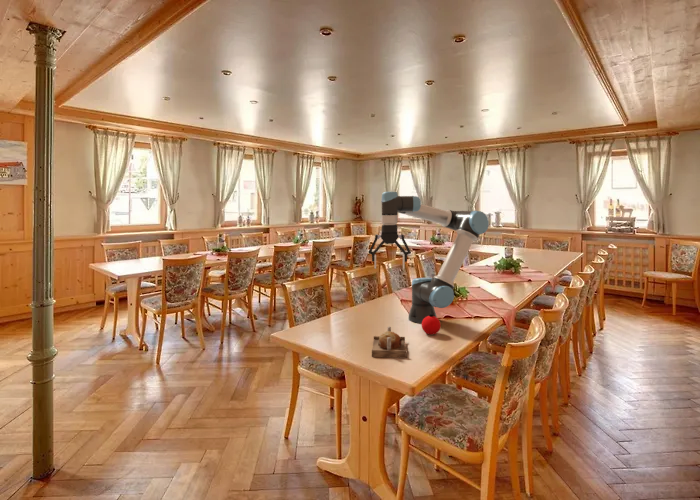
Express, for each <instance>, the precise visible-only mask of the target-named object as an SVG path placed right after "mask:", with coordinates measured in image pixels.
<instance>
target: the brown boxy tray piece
mask: <svg viewBox="0 0 700 500" xmlns="http://www.w3.org/2000/svg"><path fill="white" fill-rule="evenodd" d="M386 328H387V330H386V331H390V332H392V327H391V326H387V327H386ZM379 337H380V335H374V336H373V341H372V348H371V357H375V358H377V357H379V358H407V349H406V348H407V346H406V340H405V339H406V336H400V338H401V339H402V343H401V346H400V347H399V348H397V349H391V337H388V338H387V349H383V348H381V347H380V346H379V345H378V342H379Z"/></svg>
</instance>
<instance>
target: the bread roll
mask: <svg viewBox="0 0 700 500" xmlns="http://www.w3.org/2000/svg"><path fill="white" fill-rule="evenodd" d="M379 336H380V337H379V342H378V345H379V346H380V347H381V348H383V349H387V338H388V337H391V349H397V348H399V347H400V346H401V343H402V339H401V338H400V337H401V336H400V335H399V334H397V332H394V331H391V332H390V331H387V330H386V331H383V333H381V334H380V335H379Z"/></svg>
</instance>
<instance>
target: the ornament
mask: <svg viewBox="0 0 700 500" xmlns="http://www.w3.org/2000/svg"><path fill="white" fill-rule="evenodd" d="M441 325H442V324H441V321H440V319H439V318H438V317H437V318H436V317H435V316H433V314H429V316H427V317H425V318H424V319H423V321H422V323H421V329H422V331H423V332H424V333H425V334H427V335H429V336H431V335H432V336H433V335H436V334H438V333H439V331H441Z"/></svg>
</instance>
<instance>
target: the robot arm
mask: <svg viewBox="0 0 700 500" xmlns="http://www.w3.org/2000/svg"><path fill="white" fill-rule="evenodd" d="M398 214H403V215H406V216H410V217H414V218H416V219H422V220H424V221H428V222H431V223H436V224H439V225H441V227H443V228H446V229H450V230H452V231H455V232H456V233H457V234H456V236H455V239H454V241H453V243H452V245H451V247H450V249H449V251H448V253H447V255H446V257H445V259H444V261H443V263H442V265H441V267H440V269H439V271H438V273H437V275H434V276H433V277H416V278H413V279H412V281H411V307H410V310H409V313H408V320H409V321H410V322H412V323H417V324H422V321H423V319H424V318H425V317H427V316H429V314H433V316H435V317H436V318H438V316H437V312H436V310H435V308H437V309H444V308H447V307H449V306H450V305H451V304H452V303H453V302H454V301H453V300H454V298H455V293H454V288H455V285H454V282H455V279H456V278H457V275H458V273H459V271H460V269H461V267H462V265H463V263H464V261H465V259H466V256H467V255H468V252H469V250H470V248H471V246H472V245H473V242H475V241H477V240H478V239H479V237H480V235H483V234H484V233H486V232H487V231H488V229H489V225H490V221H489V217H488V216H487V215H486V213H485V212H483V211H482V210H481V211H480V210H475V209H474V210H451V209H445V210H444V209H440V208H437V207H435V206H434V207H433V206H430V205H426V204H422V200H421V198H420V197H419V196H417V195H415V196H414V195H401V196H400V195H399V193H398V191H383V192H382V194H381V224H382V225H381V234H377V233H376V234H375V235H374V240H373V242H372V243H371V246H370V248H369V250H368V254H369V255H371V262H374V265H373V267H374V270H375V269H377V252H378V251H379V250H380V249H381V248H382V246H383V245H384V244H386V245H389V244H390V245H393V244H395V245H396V246H397V248H398V249H399V250H400V251H401V252H402V253H403V254H402V269H403V270H405V263H407V261H408V255H410V254H411V253H412V251H411V250H410V247H409V246H408V244H407V242H406V240H405V235H404V234H398ZM380 238H381V242H380V243H379V244H378V246H377V247H376V248H375V246H376V243H377V241H378V240H380ZM398 239H400V240H401V241H402V243H403V245H404V247H405V249H406V250H407V251H406V250H405V249H404V248H403V247H402V245H401V244H400V243H399V242H398V241H397V240H398ZM374 248H375V249H374ZM373 249H374V250H373Z"/></svg>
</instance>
